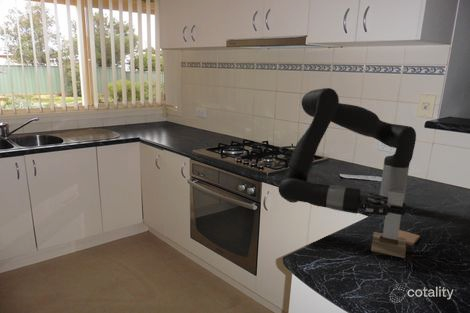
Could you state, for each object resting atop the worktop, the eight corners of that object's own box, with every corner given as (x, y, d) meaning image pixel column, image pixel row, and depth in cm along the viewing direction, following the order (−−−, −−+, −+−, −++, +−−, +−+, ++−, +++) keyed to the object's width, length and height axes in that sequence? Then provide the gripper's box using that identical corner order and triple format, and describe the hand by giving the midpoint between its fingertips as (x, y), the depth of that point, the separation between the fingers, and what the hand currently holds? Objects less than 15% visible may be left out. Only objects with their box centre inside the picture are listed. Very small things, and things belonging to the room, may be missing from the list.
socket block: (372, 239, 112) (373, 231, 111) (404, 245, 108) (405, 238, 108) (370, 250, 104) (371, 242, 103) (404, 258, 100) (406, 249, 100)
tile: (393, 230, 120) (393, 228, 119) (419, 237, 114) (419, 235, 114) (385, 237, 113) (386, 235, 113) (412, 245, 108) (413, 243, 108)
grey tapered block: (383, 232, 108) (389, 187, 105) (397, 234, 106) (403, 190, 103) (382, 237, 104) (388, 191, 101) (397, 240, 103) (404, 193, 100)
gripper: (341, 193, 102) (407, 203, 95) (347, 181, 115) (406, 190, 108) (338, 218, 103) (403, 229, 97) (345, 203, 116) (402, 213, 109)
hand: (404, 208), depth 102 cm, fingers closed on grey tapered block, 4 cm apart
